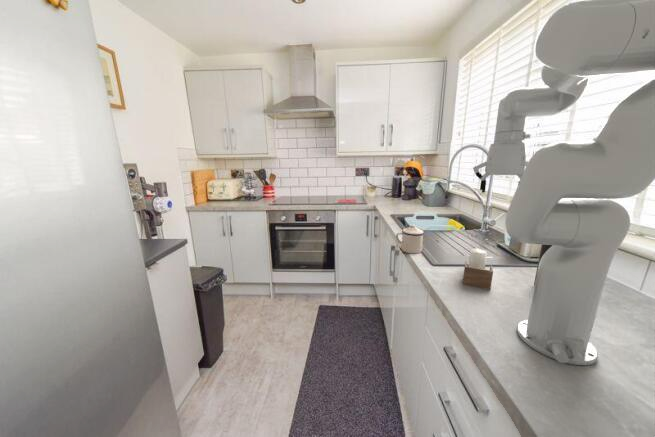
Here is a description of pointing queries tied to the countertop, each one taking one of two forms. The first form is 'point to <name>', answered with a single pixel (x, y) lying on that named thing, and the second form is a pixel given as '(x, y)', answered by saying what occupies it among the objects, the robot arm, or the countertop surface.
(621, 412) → the countertop surface
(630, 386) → the countertop surface
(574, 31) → the robot arm
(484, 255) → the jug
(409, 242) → the teacup with lid
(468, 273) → the caddy
